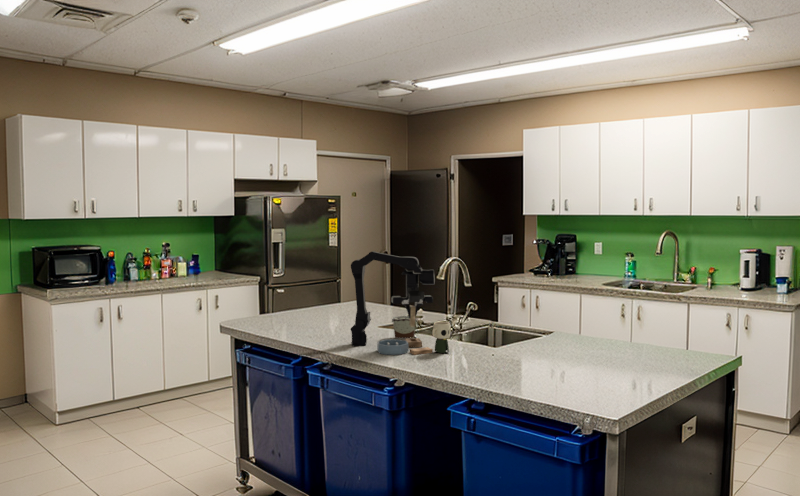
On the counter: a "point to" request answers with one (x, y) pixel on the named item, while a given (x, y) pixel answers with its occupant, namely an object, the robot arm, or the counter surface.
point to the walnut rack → (414, 342)
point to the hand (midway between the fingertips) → (412, 318)
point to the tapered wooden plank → (421, 351)
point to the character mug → (441, 336)
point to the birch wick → (412, 316)
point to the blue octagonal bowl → (392, 347)
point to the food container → (403, 327)
